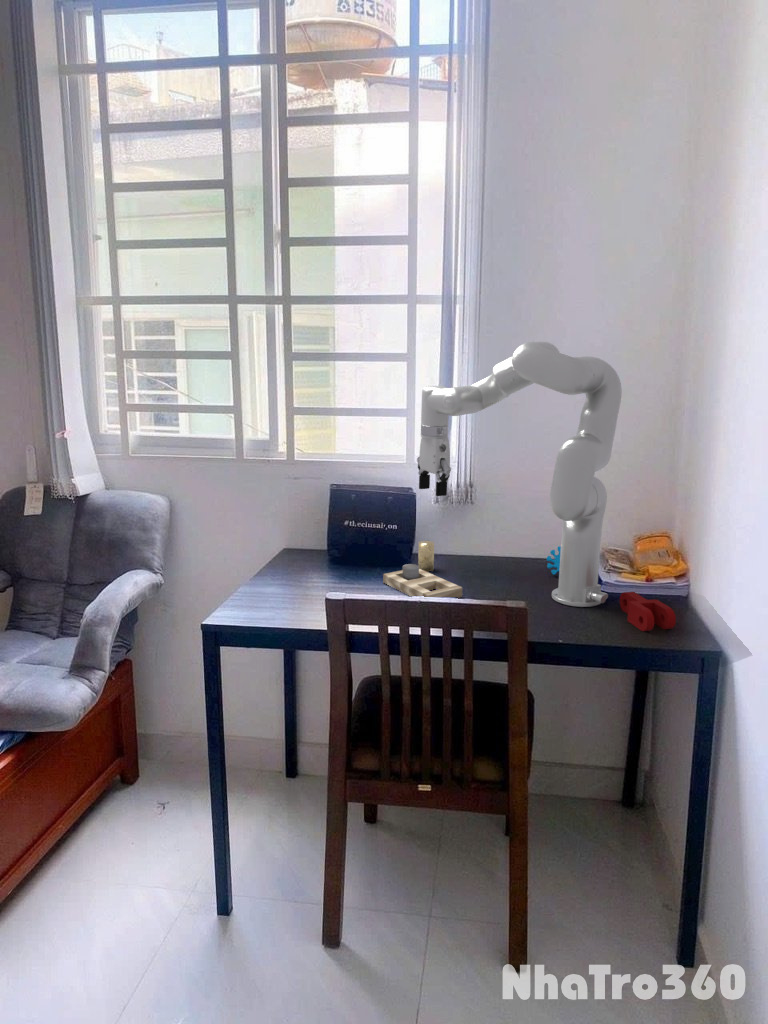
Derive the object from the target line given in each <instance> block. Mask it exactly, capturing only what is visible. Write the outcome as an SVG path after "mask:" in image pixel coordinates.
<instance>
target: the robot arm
mask: <svg viewBox="0 0 768 1024" xmlns="http://www.w3.org/2000/svg"><path fill="white" fill-rule="evenodd" d="M532 384H536V385H539V386H541V387H544V388H548V389H550V390H552V391H555V392H557V393H560V394H563V395H570V396H571V395H572V396H575V395H580V394H581V395H582V394H584V395H585V401H584V404H583V407H582V409H581V411H580V416H579V423H578V427H577V432H576V435H574V436H572V437H570V438H568V439H567V440H565V441H564V442H563V443H562V444H561V446H560V448H559V449H558V451H557V455H556V458H555V459H556V460H555V465H554V470H553V475H552V481H551V487H550V493H549V504H550V507H551V510H552V512H553V514H554V515H555V516H556V517H557V518H558V519H561V520H562V525H561V527H562V528H561V539H560V547H561V553H560V569H559V572H558V584H557V585H558V587H557V588H555V589H553V590H552V591H551V598H552V599H553V600H554V601H555V602H557V603H559V604H563V605H566V606H570V607H578V608H579V607H580V608H584V607H585V608H589V607H595V606H598V605H601V604H604V603H605V602H606V601H607V599H608V598H609V594H608V593H606V592H603V591H602V585H601V584H599V573H600V572H599V571H600V570H599V569H600V556H601V543H602V542H601V541H602V532H603V523H604V518H605V517H604V516H605V511H606V507H607V501H608V500H607V499H608V494H607V493H608V492H607V489H606V486H605V485H604V483H603V481H602V480H601V479H600V478H598V477H596V476H595V472H599V471H601V470H602V469H604V468H606V466H607V465H608V464H609V462H610V459H611V457H612V450H613V445H614V440H615V439H614V438H615V435H616V429H617V422H618V417H619V414H620V413H619V412H620V408H621V402H622V393H623V392H622V391H623V389H622V382H621V379H620V376H619V375H618V372H617V371H616V370H615V368H614V367H613V366H612V365H610V364H609V363H608V362H606V361H605V360H604V359H601V358H599V357H595V356H579V357H575V356H574V357H573V356H571V355H567V354H565V353H561V352H560V350H559V349H558V348H557V346H555V345H554V343H550V342H547V341H528V342H525V343H522V344H521V345H519V346H518V347H517V348H516V349H515V351H514V352H513V354H512V355H511V356H509V357H507V358H505V359H503V360H502V361H499V362H498V363H496V364H495V365H493V368H492V373H491V374H490V375H488V376H487V377H485V378H483V379H481V380H479V381H477V382H476V383H473V384H471V385H464V386H457V387H456V386H454V387H447V386H443V385H428V386H427V385H426V386H424V387H423V388H422V391H421V409H420V410H421V411H420V418H421V420H420V437H421V438H420V446H419V456H418V457H417V458H416V461H417V469H418V489H419V490H426V489H427V490H429V489H430V488H431V487H430V484H431V483H430V482H431V475H430V473H431V474H434V475H435V477H436V481H435V496H436V497H444V496H447V495H448V482H449V478H450V476H451V471H452V467H451V452H450V450H451V449H450V441H449V437H448V436H449V422H450V421H449V417H450V416H451V417H457V416H459V417H460V416H464V415H473V414H475V413H478V412H481V411H482V410H485V409H487V408H489V407H491V406H493V405H496V404H497V403H499V402H502V401H503V400H505V399H506V398H508V397H509V396H510V395H513V394H514V393H517V392H518V391H521V390H523V389H525V388H527V387H528V386H530V385H532Z"/></svg>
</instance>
